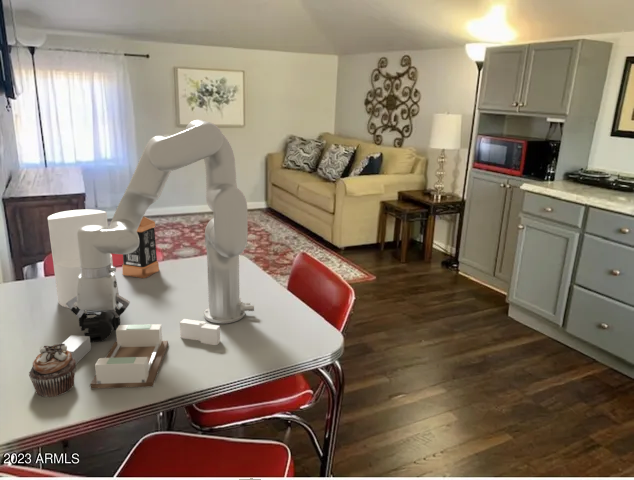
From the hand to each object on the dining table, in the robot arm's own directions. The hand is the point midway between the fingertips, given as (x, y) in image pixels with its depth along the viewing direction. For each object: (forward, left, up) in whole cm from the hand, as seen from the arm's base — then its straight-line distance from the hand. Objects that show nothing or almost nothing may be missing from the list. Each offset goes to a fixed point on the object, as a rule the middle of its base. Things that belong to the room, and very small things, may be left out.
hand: (100, 328), depth 138 cm
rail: (-13, +17, -1) cm, 21 cm away
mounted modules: (-13, +17, -1) cm, 21 cm away
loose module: (+3, +12, -2) cm, 12 cm away
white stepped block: (-28, +5, -3) cm, 29 cm away
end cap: (0, 0, -2) cm, 2 cm away
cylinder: (+12, -26, -2) cm, 29 cm away
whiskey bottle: (0, -49, -2) cm, 49 cm away
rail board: (-13, +17, -2) cm, 21 cm away
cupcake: (+2, +26, -2) cm, 26 cm away
